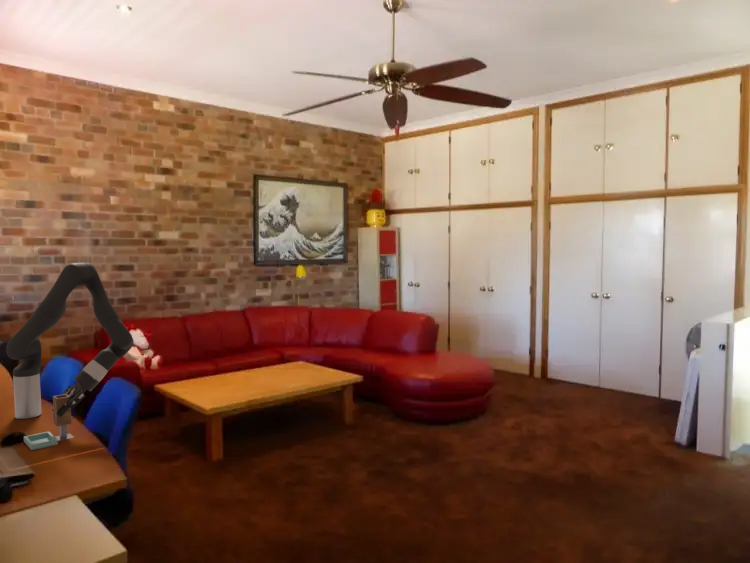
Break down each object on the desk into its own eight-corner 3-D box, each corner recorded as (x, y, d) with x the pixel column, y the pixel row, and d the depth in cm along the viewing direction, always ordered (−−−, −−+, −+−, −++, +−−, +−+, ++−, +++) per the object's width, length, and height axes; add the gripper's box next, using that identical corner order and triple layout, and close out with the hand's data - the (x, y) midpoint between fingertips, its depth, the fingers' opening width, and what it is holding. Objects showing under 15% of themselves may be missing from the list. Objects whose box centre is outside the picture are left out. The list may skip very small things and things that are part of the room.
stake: (52, 438, 202) (52, 422, 202) (69, 435, 206) (69, 419, 205) (57, 442, 198) (56, 426, 198) (74, 438, 202) (73, 422, 201)
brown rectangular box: (53, 423, 202) (52, 396, 201) (67, 420, 205) (66, 393, 204) (57, 426, 198) (56, 398, 198) (71, 423, 202) (70, 396, 201)
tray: (23, 443, 198) (23, 436, 197) (49, 437, 203) (49, 431, 203) (31, 452, 189) (31, 445, 189) (57, 446, 195) (57, 439, 194)
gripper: (77, 366, 211) (42, 403, 203) (89, 372, 200) (52, 412, 193) (93, 377, 215) (59, 414, 207) (105, 384, 204) (70, 424, 197)
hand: (56, 413), depth 200 cm, fingers closed on brown rectangular box, 4 cm apart
